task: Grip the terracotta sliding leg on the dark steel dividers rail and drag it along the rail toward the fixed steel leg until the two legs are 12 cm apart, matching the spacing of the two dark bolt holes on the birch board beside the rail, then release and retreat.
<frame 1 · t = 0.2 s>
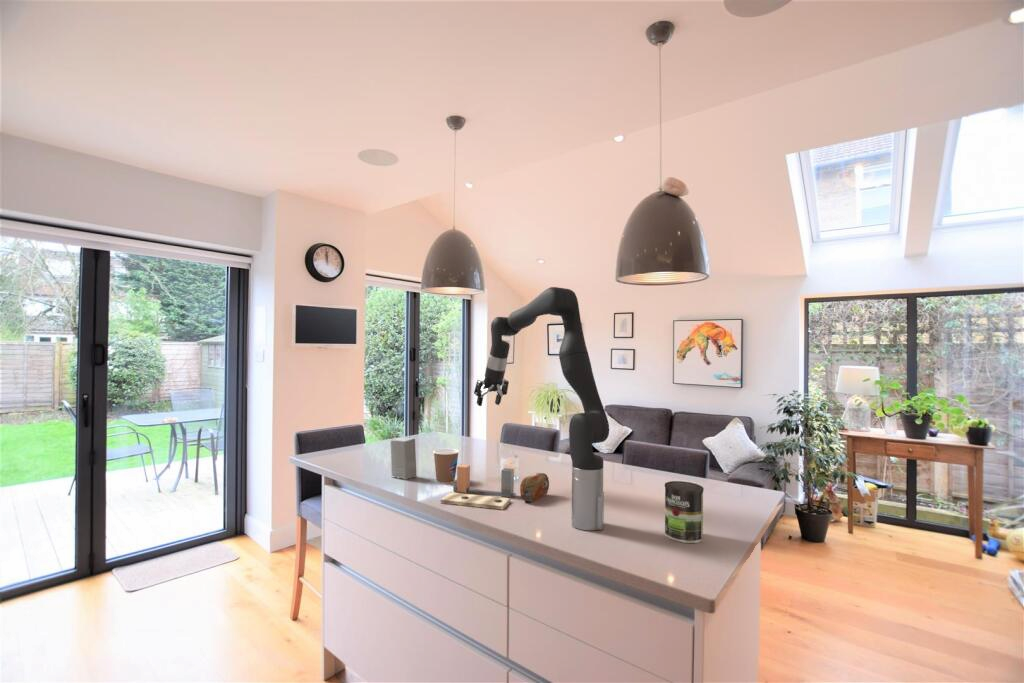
hand: (488, 404, 184), 31 cm above the table, tool tilted 20°, fingers open, 8 cm apart
coffee can: (683, 537, 130), on the table
hole board: (475, 502, 158), on the table
brown rounded flat piece: (534, 499, 163), on the table
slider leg: (463, 478, 171), point 5 cm above the table, slide at 9.0 cm
dividers rail: (486, 493, 168), on the table
coffee cup: (445, 481, 184), on the table
skincare box: (402, 477, 190), on the table
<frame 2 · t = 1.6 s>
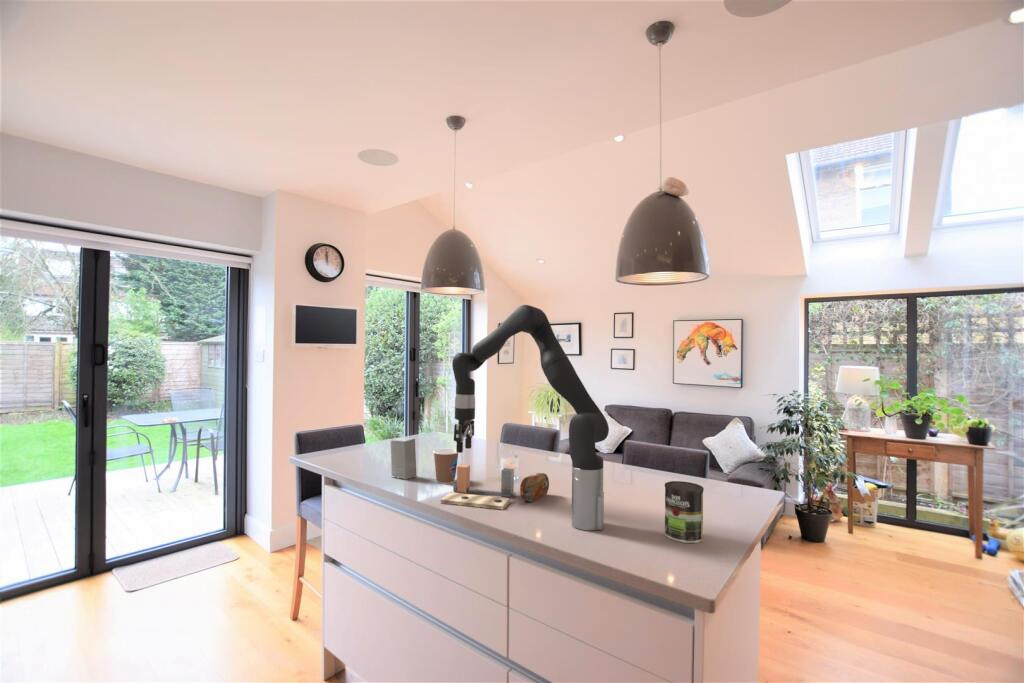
hand: (464, 450, 171), 15 cm above the table, tool pointing down, fingers open, 8 cm apart
nothing on the table moved.
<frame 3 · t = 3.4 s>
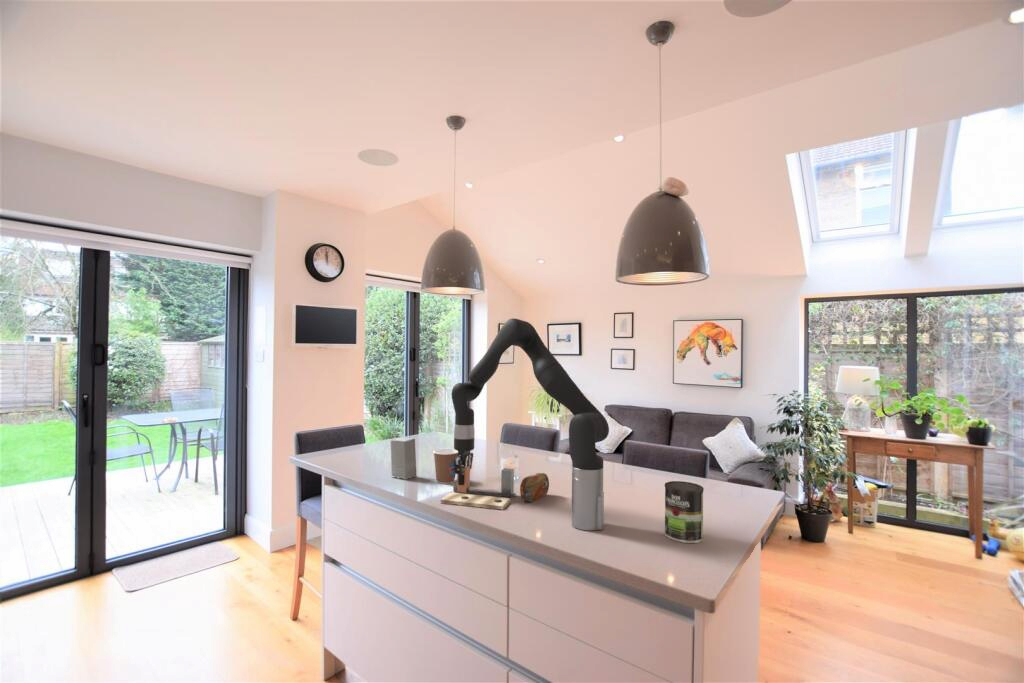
hand: (463, 483, 171), 3 cm above the table, tool pointing down, fingers closed on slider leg, 3 cm apart
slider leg: (463, 478, 171), point 5 cm above the table, slide at 9.0 cm, touching gripper
everything else where it was.
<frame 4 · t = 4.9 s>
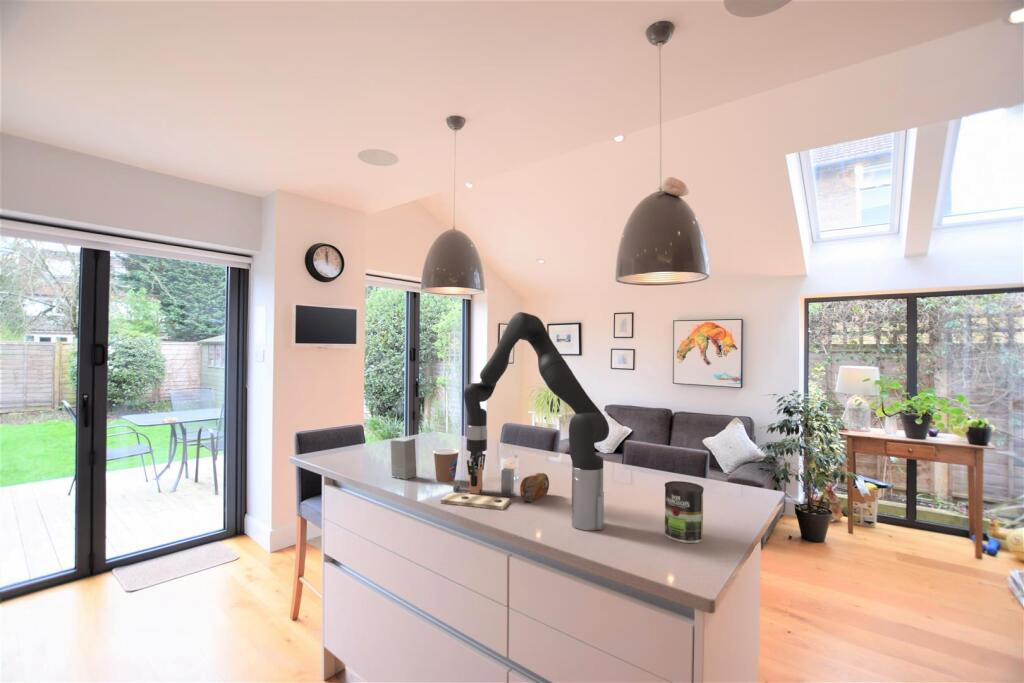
hand: (476, 484, 169), 3 cm above the table, tool pointing down, fingers closed on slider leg, 3 cm apart
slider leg: (476, 479, 169), point 5 cm above the table, slide at 4.0 cm, touching gripper
everything else where it was.
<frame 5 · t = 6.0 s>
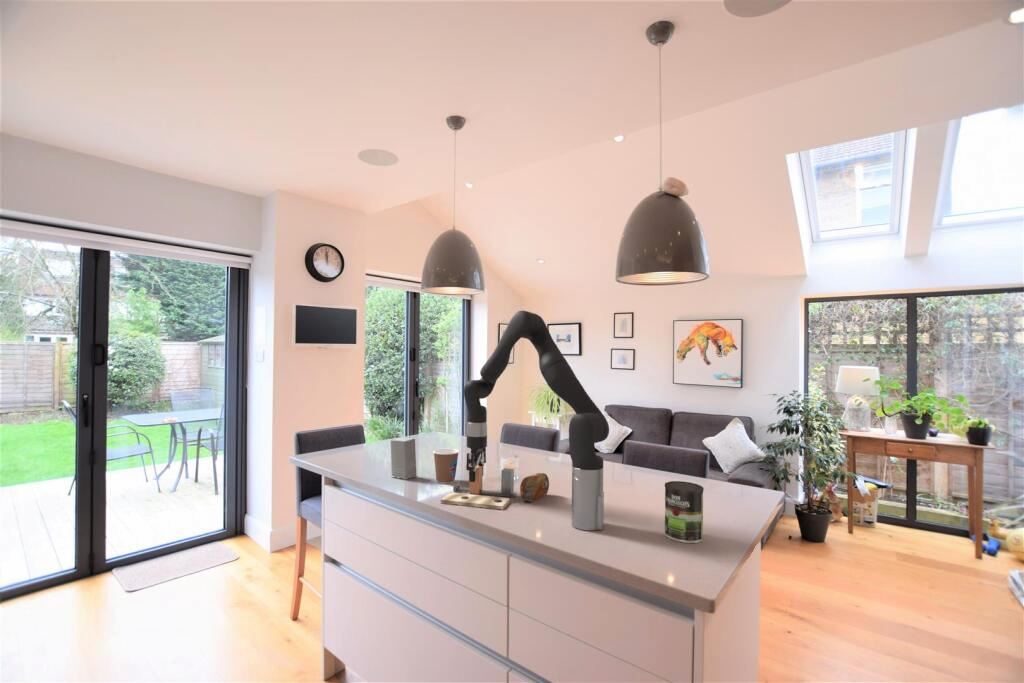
hand: (476, 478, 169), 5 cm above the table, tool pointing down, fingers open, 8 cm apart
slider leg: (476, 479, 169), point 5 cm above the table, slide at 4.0 cm
everything else where it was.
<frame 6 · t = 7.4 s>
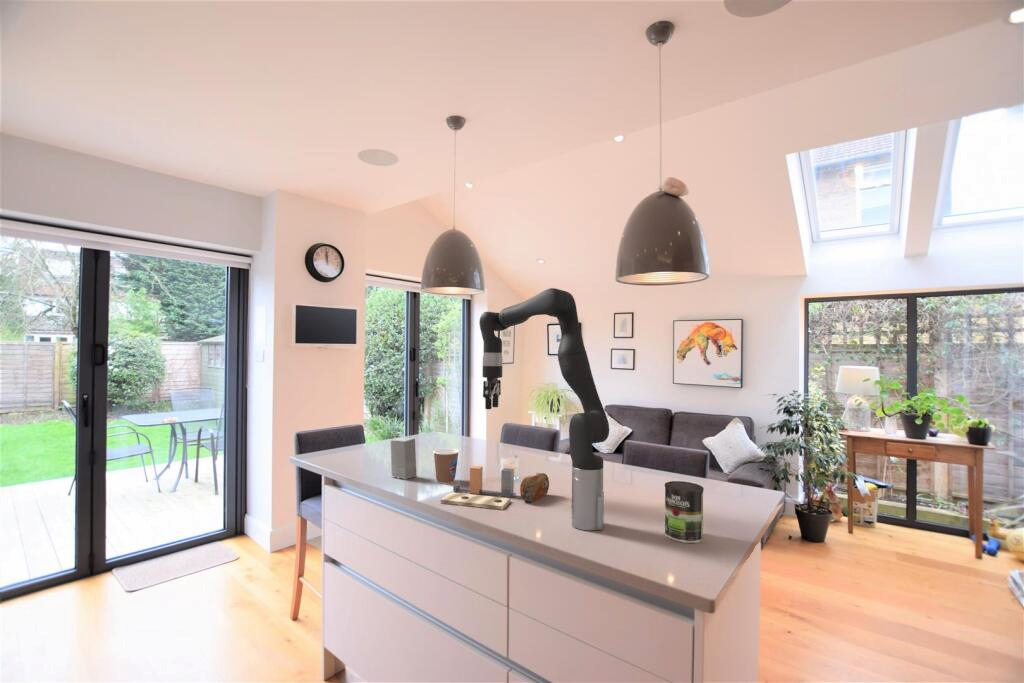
hand: (491, 408, 173), 31 cm above the table, tool pointing down, fingers open, 8 cm apart
nothing on the table moved.
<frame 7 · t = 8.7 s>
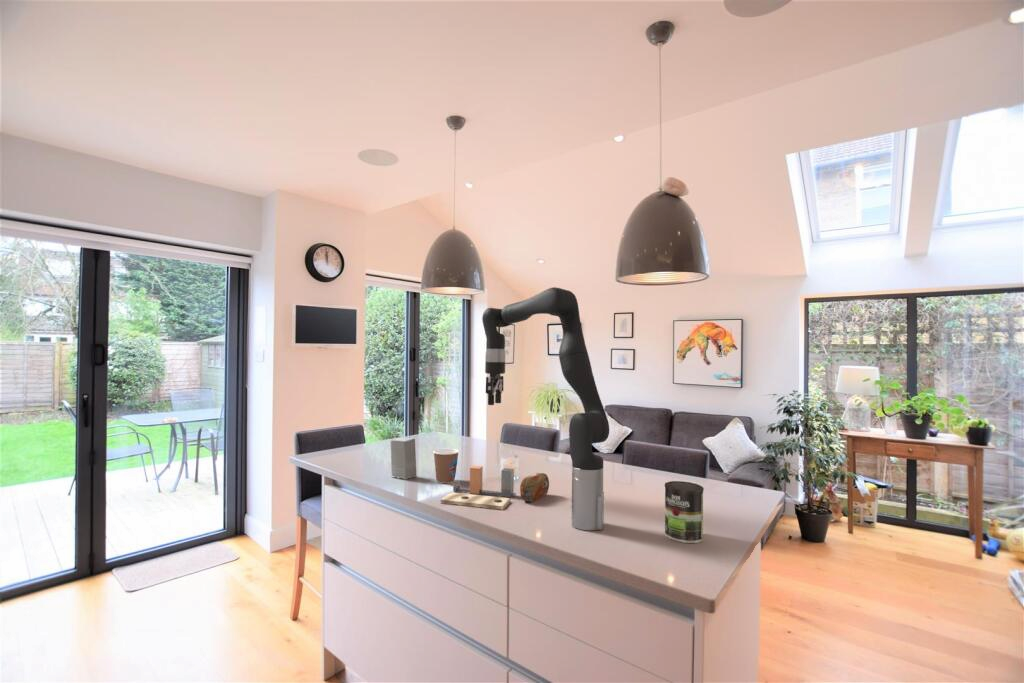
hand: (494, 404, 174), 32 cm above the table, tool pointing down, fingers open, 8 cm apart
nothing on the table moved.
at the end: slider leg slide at 4.0 cm; the gripper is holding nothing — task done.
